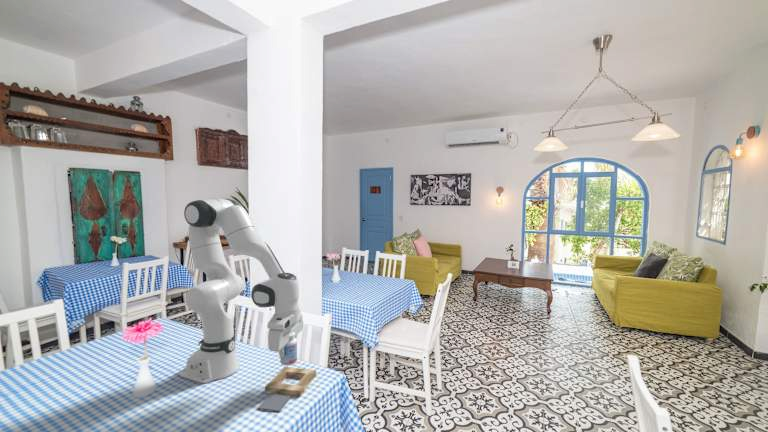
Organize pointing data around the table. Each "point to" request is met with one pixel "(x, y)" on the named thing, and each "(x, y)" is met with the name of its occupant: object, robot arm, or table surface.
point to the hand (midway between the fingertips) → (287, 351)
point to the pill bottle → (290, 351)
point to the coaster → (274, 402)
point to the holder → (287, 389)
